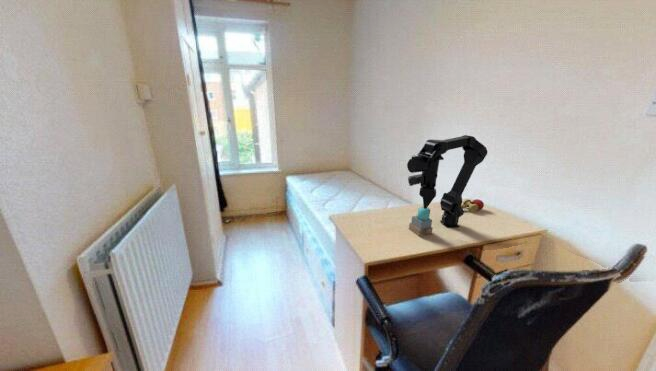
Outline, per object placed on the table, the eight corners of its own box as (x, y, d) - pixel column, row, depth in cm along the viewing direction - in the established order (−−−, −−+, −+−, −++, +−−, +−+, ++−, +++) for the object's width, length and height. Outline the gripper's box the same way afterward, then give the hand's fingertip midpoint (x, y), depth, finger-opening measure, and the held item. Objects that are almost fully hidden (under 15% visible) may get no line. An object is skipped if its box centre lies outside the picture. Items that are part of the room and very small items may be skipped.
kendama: (456, 216, 134) (488, 210, 136) (455, 205, 133) (487, 199, 135) (447, 212, 142) (477, 207, 143) (447, 202, 141) (477, 196, 142)
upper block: (421, 221, 118) (422, 214, 117) (431, 227, 113) (432, 220, 112) (411, 223, 116) (412, 216, 115) (420, 229, 111) (421, 222, 109)
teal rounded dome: (425, 215, 116) (426, 206, 114) (431, 220, 111) (432, 211, 109) (414, 216, 115) (416, 207, 113) (420, 221, 110) (421, 211, 109)
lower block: (421, 227, 120) (422, 220, 118) (431, 234, 113) (432, 227, 112) (408, 229, 117) (409, 223, 116) (418, 237, 111) (419, 230, 110)
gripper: (411, 163, 118) (407, 194, 123) (408, 173, 101) (404, 209, 106) (437, 166, 114) (432, 198, 119) (438, 177, 98) (432, 214, 103)
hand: (425, 204), depth 112 cm, fingers open, 9 cm apart
